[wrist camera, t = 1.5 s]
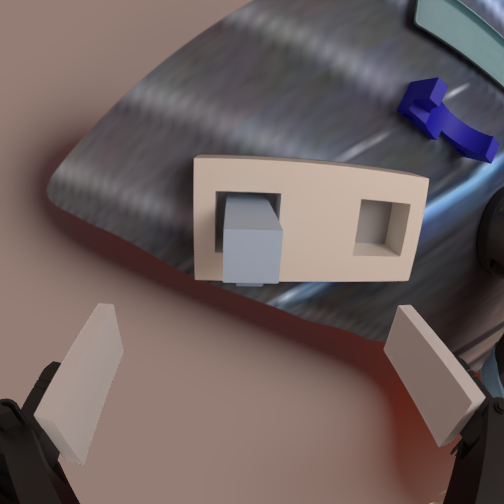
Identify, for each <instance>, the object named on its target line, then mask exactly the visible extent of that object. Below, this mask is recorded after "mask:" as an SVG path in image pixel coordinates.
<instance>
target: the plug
mask: <svg viewBox="0 0 504 504" xmlns="http://www.w3.org/2000/svg"><path fill="white" fill-rule="evenodd" d="M282 240H283V229H282V227H281V225H280V223H279V221H278V219H277V217H276V215H275V213H274V211H273V209H272V207H271V205H270V203H269V201H268V199H267V197H266V195H258V194H227V199H226V209H225V220H224V236H223V283H236V286H263V283H279V273H280V262H281V251H282Z"/></svg>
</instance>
